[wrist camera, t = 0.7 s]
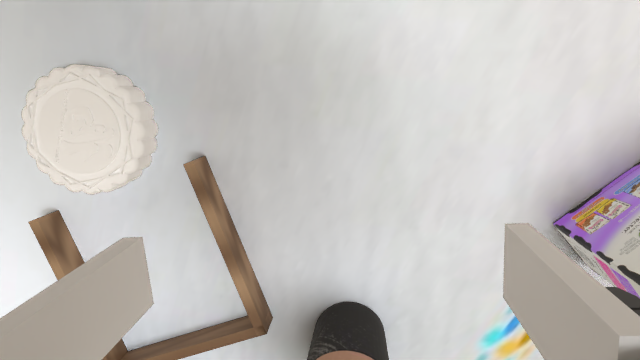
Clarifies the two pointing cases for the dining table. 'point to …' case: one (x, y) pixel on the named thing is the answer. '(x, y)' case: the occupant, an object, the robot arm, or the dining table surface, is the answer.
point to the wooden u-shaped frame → (166, 353)
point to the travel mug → (348, 334)
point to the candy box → (609, 231)
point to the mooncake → (89, 128)
